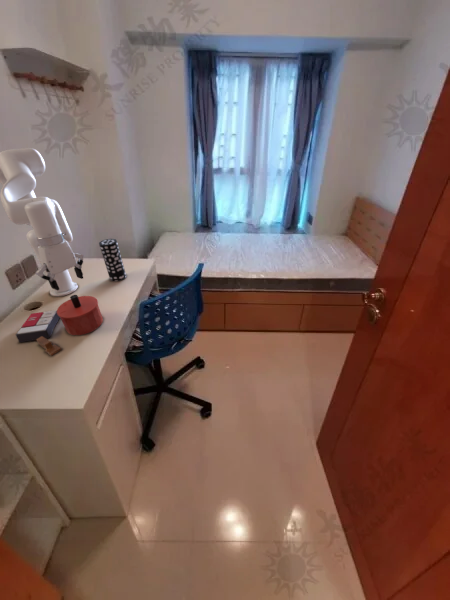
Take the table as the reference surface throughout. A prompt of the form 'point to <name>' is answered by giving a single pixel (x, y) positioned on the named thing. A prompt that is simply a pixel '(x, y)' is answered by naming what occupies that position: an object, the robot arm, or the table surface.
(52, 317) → the calculator
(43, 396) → the table surface
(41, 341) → the stepped wooden block pair
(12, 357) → the table surface
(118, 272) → the white-spotted black cylinder
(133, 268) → the table surface
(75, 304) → the lid
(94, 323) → the pot
